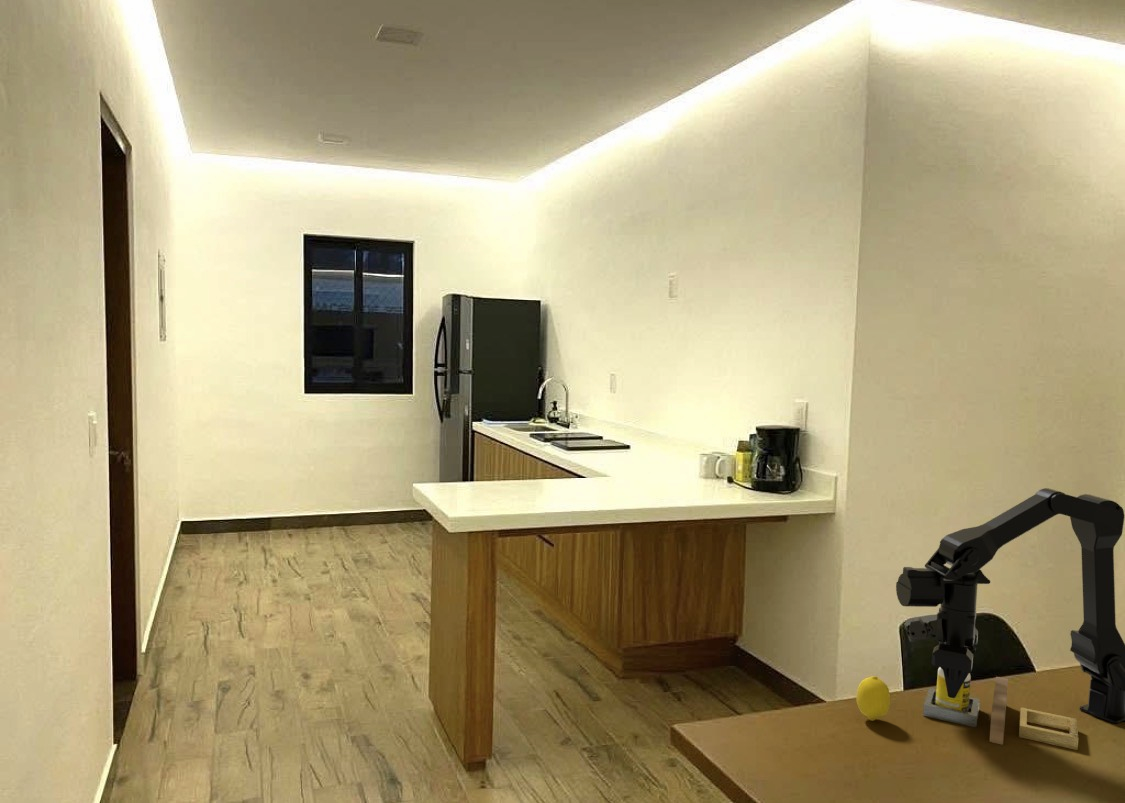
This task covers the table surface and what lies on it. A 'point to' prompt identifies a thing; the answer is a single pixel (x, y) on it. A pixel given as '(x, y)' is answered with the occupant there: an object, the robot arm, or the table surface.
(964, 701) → the supplement bottle
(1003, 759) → the table surface
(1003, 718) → the brown wooden bar
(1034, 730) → the frame
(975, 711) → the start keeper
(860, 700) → the lemon
